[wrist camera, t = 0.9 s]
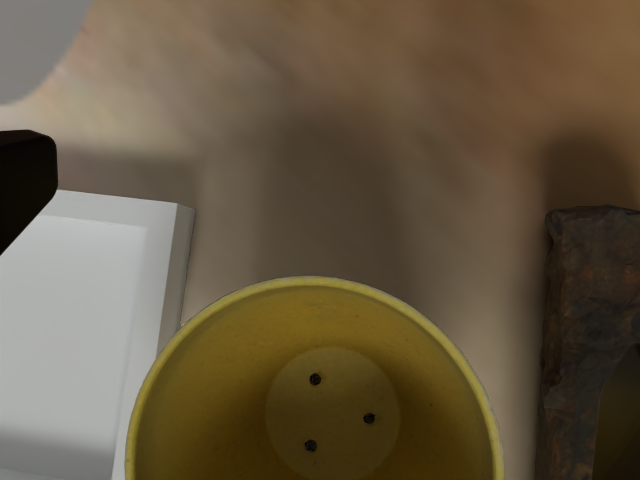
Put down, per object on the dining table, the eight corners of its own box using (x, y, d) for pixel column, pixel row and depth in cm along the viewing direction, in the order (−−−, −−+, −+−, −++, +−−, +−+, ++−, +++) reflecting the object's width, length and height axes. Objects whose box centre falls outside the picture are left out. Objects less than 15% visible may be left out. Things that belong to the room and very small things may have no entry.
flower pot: (527, 380, 22) (586, 424, 15) (372, 609, 22) (359, 758, 15) (301, 227, 24) (259, 203, 17) (156, 442, 24) (54, 509, 17)
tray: (152, 517, 24) (130, 538, 22) (-123, 465, 25) (-168, 480, 23) (195, 209, 24) (177, 203, 22) (-76, 178, 26) (-115, 169, 24)
